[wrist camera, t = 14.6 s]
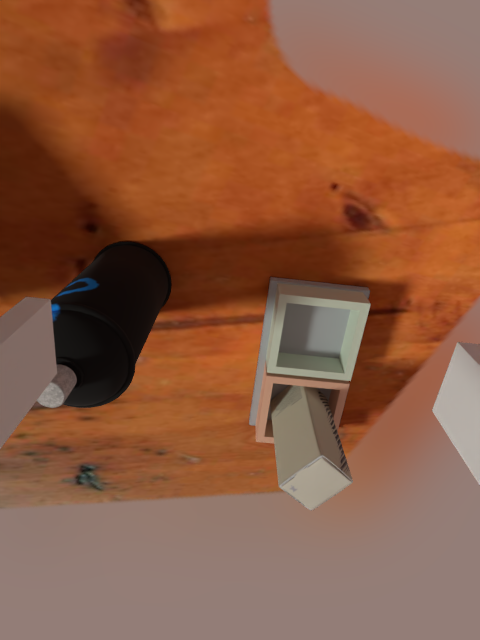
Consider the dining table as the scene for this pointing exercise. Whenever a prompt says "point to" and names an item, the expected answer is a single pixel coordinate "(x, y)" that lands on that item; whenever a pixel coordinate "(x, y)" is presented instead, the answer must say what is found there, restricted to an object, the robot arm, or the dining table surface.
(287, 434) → the box
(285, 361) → the socket board
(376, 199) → the dining table surface
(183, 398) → the dining table surface
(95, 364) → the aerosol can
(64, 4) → the dining table surface
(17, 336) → the robot arm
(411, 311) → the dining table surface
